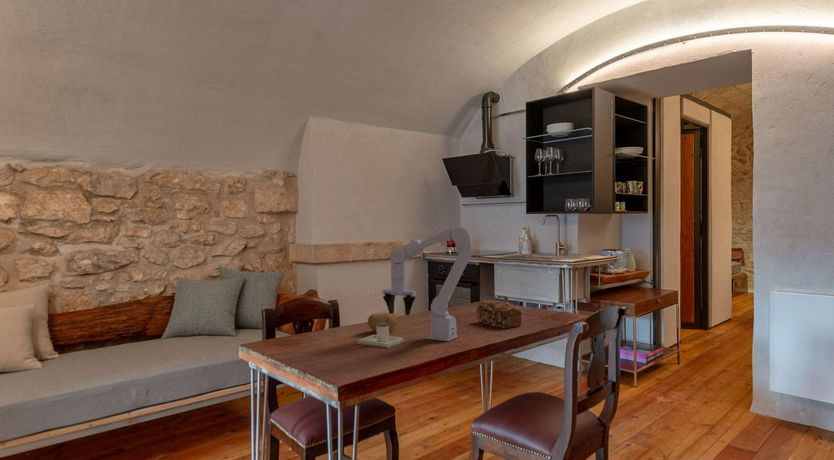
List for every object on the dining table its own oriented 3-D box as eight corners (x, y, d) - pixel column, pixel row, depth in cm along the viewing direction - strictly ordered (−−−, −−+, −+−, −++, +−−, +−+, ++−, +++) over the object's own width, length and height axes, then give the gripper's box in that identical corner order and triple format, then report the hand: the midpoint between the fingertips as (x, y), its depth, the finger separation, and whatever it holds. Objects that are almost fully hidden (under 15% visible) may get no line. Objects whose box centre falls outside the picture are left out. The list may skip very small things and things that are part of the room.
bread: (476, 322, 221) (475, 300, 221) (495, 319, 226) (494, 297, 226) (503, 329, 205) (502, 305, 205) (523, 326, 210) (522, 302, 210)
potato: (404, 331, 207) (404, 311, 207) (375, 336, 198) (375, 316, 198) (391, 327, 215) (390, 309, 214) (363, 332, 206) (362, 313, 206)
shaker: (391, 341, 186) (391, 323, 186) (384, 343, 183) (383, 325, 182) (382, 339, 189) (381, 321, 189) (374, 342, 185) (373, 324, 185)
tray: (403, 342, 187) (403, 338, 187) (388, 348, 178) (387, 343, 178) (373, 338, 194) (373, 334, 194) (357, 344, 186) (357, 339, 186)
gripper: (377, 279, 194) (378, 314, 194) (408, 280, 186) (409, 317, 186) (388, 277, 200) (389, 311, 200) (418, 278, 192) (419, 314, 192)
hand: (399, 314), depth 193 cm, fingers open, 7 cm apart
